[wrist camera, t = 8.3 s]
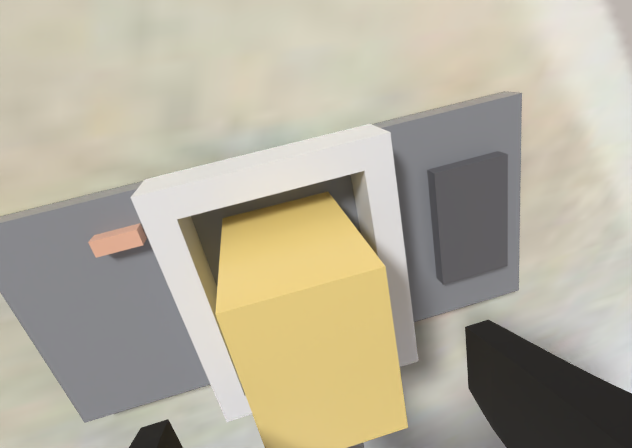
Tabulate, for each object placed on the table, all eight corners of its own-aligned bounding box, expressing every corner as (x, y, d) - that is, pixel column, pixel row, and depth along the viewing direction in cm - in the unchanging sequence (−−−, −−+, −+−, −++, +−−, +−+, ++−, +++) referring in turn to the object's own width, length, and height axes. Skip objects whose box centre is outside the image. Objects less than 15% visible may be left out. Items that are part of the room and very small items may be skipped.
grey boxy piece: (504, 85, 15) (563, 88, 13) (504, 283, 19) (550, 319, 16) (-24, 214, 13) (-91, 252, 11) (94, 407, 17) (68, 471, 14)
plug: (328, 191, 14) (385, 266, 9) (357, 345, 17) (414, 471, 12) (222, 218, 14) (215, 314, 9) (271, 370, 17) (289, 513, 12)
